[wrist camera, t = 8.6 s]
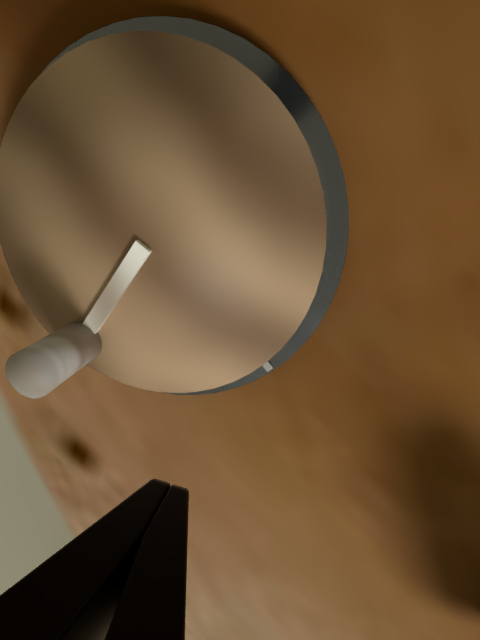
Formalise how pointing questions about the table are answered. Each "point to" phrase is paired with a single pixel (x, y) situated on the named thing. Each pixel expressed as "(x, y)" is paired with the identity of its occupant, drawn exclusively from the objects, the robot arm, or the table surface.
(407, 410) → the table surface
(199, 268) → the dial
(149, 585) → the robot arm
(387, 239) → the table surface
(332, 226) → the dial housing
